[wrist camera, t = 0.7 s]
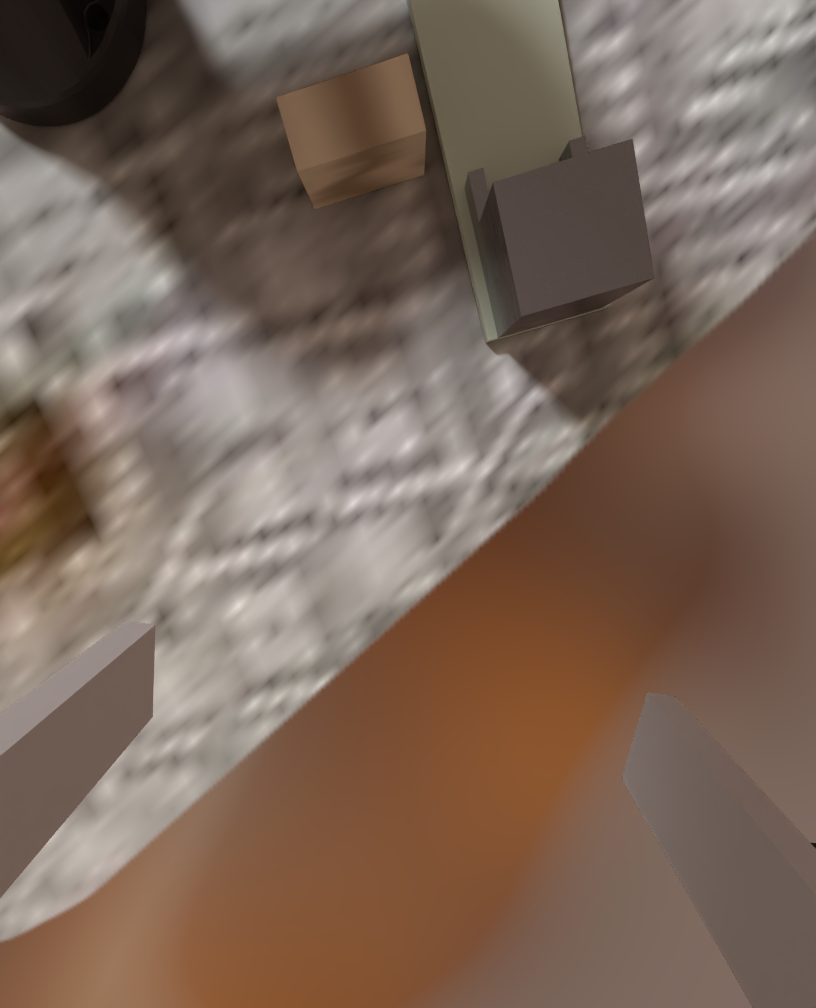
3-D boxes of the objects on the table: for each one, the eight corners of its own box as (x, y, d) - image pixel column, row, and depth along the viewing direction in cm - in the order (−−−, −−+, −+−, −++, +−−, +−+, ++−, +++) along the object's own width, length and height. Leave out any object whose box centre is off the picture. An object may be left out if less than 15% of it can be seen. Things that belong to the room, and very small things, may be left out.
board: (381, -110, 28) (380, -129, 27) (522, -161, 27) (526, -182, 26) (485, 343, 33) (487, 341, 32) (605, 308, 32) (611, 305, 31)
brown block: (315, 210, 31) (297, 171, 26) (297, 148, 31) (275, 97, 26) (424, 175, 31) (426, 130, 26) (409, 112, 30) (408, 53, 25)
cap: (464, 188, 30) (479, 120, 23) (573, 154, 29) (622, 74, 23) (498, 338, 32) (521, 316, 25) (601, 308, 31) (654, 277, 24)
